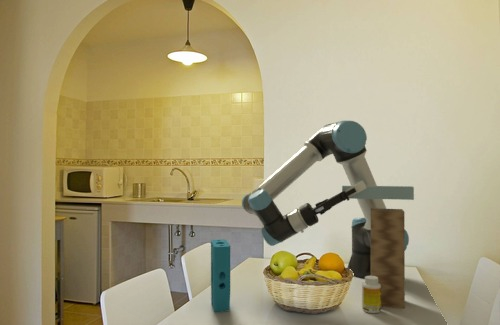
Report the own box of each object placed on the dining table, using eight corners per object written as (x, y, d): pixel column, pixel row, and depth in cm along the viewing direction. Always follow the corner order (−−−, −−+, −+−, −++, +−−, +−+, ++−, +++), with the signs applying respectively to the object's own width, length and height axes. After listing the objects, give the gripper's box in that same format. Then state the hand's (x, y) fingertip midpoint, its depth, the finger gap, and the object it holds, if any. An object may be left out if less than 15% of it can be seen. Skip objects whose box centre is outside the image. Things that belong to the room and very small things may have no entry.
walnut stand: (371, 305, 127) (370, 210, 127) (370, 297, 135) (370, 208, 135) (404, 308, 124) (404, 211, 125) (402, 299, 132) (402, 209, 132)
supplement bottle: (383, 314, 120) (383, 279, 120) (364, 314, 120) (364, 279, 120) (377, 307, 125) (377, 274, 125) (360, 307, 125) (359, 274, 125)
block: (230, 312, 120) (230, 246, 121) (214, 314, 120) (214, 247, 120) (225, 299, 132) (225, 239, 132) (210, 300, 131) (210, 239, 131)
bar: (342, 198, 132) (342, 186, 132) (342, 197, 136) (342, 185, 136) (413, 199, 126) (413, 187, 126) (412, 198, 130) (412, 186, 130)
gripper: (312, 223, 145) (370, 192, 140) (305, 231, 129) (371, 195, 123) (302, 205, 146) (359, 173, 141) (293, 210, 130) (358, 174, 124)
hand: (364, 184), depth 132 cm, fingers closed on bar, 4 cm apart
